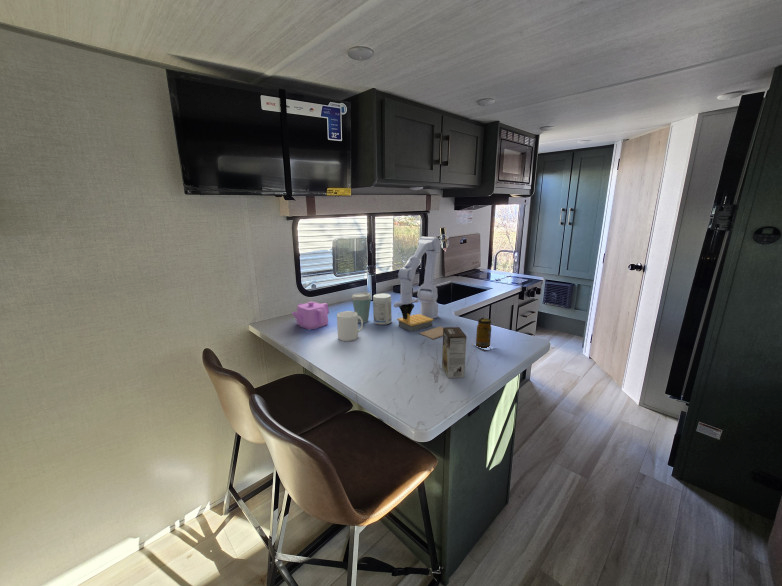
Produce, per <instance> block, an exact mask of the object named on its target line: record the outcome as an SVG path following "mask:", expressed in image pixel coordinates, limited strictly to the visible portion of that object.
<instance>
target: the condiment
mask: <svg viewBox="0 0 782 586" xmlns="http://www.w3.org/2000/svg"><path fill="white" fill-rule="evenodd" d="M475 337H476V338H475V343H476V346H478V347H481V348H487V347H489V346H490V345H491V338H492V320H491V319H489V318H483V317H482V318H479V319H478V321H477V325H476V336H475ZM473 344H474V343H471V345H472V346H473ZM478 349H479V350H481V351H483V352H485V351H484V349H480V348H478Z"/></svg>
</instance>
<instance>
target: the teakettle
mask: <svg viewBox="0 0 782 586" xmlns="http://www.w3.org/2000/svg"><path fill="white" fill-rule="evenodd" d="M291 314H292V316H293V317H294V318H295V319H296V320H295V321H296V323H297V325H298V326H299V325H300V326H299V327H300V328H303V327H304V328H303V329H305V328H306V330H308V329H313V330H315V328H316V329H320V328H323V327H326V326H328V324H329V316H328V314H330V310H329V305H328V303H326V302H324V303H320V302H315V301H312V300H311V301H308V302H306V303H298V305H297V306H296V311H293V312H291ZM325 325H326V326H325ZM322 326H323V327H322ZM319 327H320V328H319Z"/></svg>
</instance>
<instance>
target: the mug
mask: <svg viewBox="0 0 782 586" xmlns="http://www.w3.org/2000/svg"><path fill="white" fill-rule="evenodd" d="M358 319H360V320H361V324H360V328H359V322H358ZM336 325H337V337H338V338H337V339H338V340H340V341H341V340H342V342H353V341H356V340H357V339H358V337H359V332H362V329H363V327H364V322H363V321H362V318H361V317H360V316H357V313H356V312H354V310H344V311H340V312H337V314H336Z"/></svg>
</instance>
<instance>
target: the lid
mask: <svg viewBox="0 0 782 586" xmlns="http://www.w3.org/2000/svg"><path fill="white" fill-rule="evenodd" d="M434 319H435V318H433V319H432V318H429V317H426V316H424V315H421V313H417V314H412V315H411V314H408V313H407V319H403V317H399V318H397V321H398V322H399V321H400V322H403V323H405V324H408V325H410V326H414V325H418V324H422V323H426V322H430V321H432V322H434Z"/></svg>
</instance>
